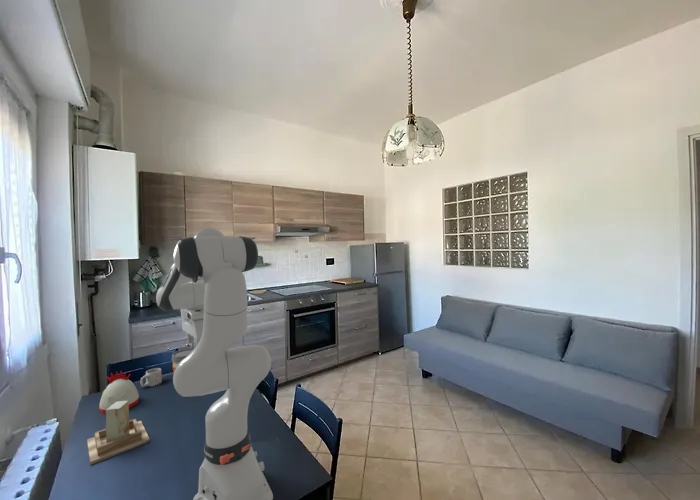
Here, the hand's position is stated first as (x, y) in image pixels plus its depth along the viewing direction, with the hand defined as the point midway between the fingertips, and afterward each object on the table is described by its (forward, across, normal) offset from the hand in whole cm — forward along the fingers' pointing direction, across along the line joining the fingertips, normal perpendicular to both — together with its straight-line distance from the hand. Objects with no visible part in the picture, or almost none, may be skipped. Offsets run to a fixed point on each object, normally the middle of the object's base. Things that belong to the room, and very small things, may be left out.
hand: (194, 345), depth 122 cm
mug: (+29, -48, -7) cm, 57 cm away
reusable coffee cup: (+29, -39, +7) cm, 49 cm away
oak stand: (+29, -3, -25) cm, 38 cm away
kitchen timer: (+29, -35, -21) cm, 50 cm away
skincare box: (+28, -3, -25) cm, 38 cm away
